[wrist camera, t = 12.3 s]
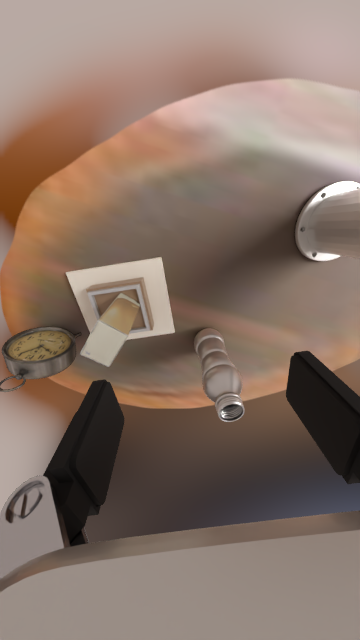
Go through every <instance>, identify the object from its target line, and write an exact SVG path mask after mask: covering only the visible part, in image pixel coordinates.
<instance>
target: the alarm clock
mask: <svg viewBox="0 0 360 640" xmlns="http://www.w3.org/2000/svg"><path fill="white" fill-rule="evenodd" d="M77 336H81V333H78V334H76V335H73V334H72V333H71V332H69V331H68V330H65V329H62V328H58V327H40V328H34V329H29V330H26V331H23V332H21V333H18V334H16V335H14V336H13V337H11V338H10V339H9V340H8V341H7V342H6V343H5V344H4V346H3V348H2V354H3V356H4V359H5V362H6V365H7V368H8V370H9V371H10V372H11V373H12V374H13V375H15V376H12V377H8V378H6V379H4V380H3V381H1V382H0V385H1V384H2V383H3V382H4V381H6V380H8V379H10V378H16V379H22V378H23V379H24V381H23V383H22V384H21V385H19V386H18V387H16V388H13V389H8V390H3V389H1V388H0V391H2V392H9V391H13V390H16V389H18V388H20V387H21V386H22V385H24V384H25V381H26V380H25V379H40V378H45V377H49V376H52V375H55V374H57V373H60V372H61V371H63V370H65V369H66V368H67V367H68V366H70V365H71V363H72V362H73V361H74V359H75V357H76V345H75V338H76V337H77Z"/></svg>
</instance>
